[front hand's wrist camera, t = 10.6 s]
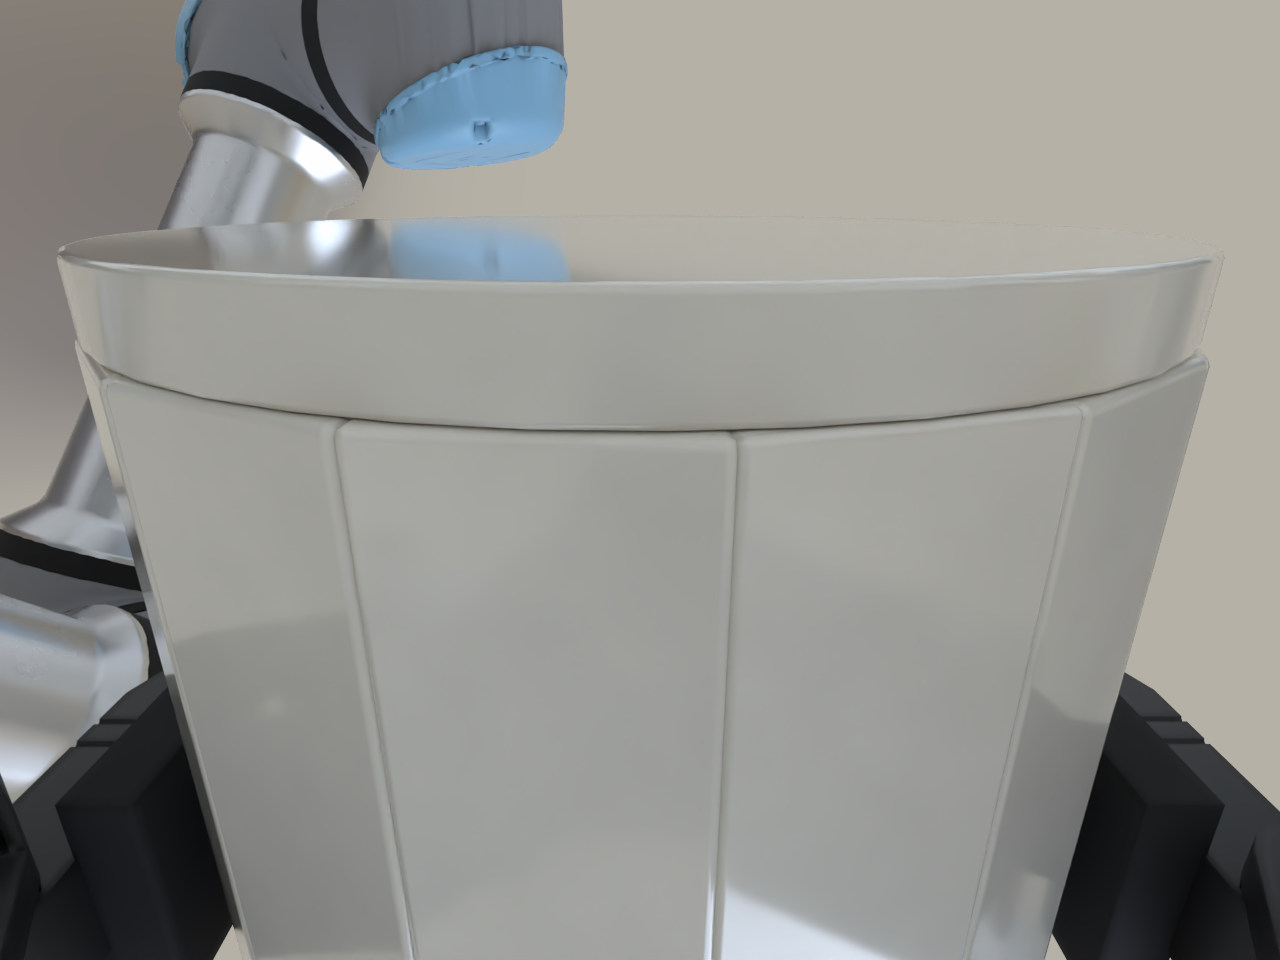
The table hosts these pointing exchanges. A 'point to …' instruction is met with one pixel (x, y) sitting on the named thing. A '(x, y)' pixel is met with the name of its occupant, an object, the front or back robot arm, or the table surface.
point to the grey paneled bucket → (643, 567)
